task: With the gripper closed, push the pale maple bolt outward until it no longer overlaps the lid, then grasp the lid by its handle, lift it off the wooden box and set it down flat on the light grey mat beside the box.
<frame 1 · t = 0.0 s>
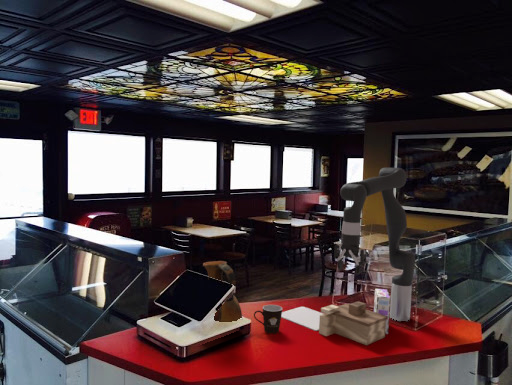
hand: (348, 271, 178), 29 cm above the counter, tool pointing down, fingers open, 8 cm apart
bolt: (330, 309, 188), point 10 cm above the counter, slide at 0.0 cm
wooden box: (355, 333, 189), on the counter
ceramic pitcher: (218, 331, 185), on the counter
lid: (356, 315, 188), point 8 cm above the counter, touching wooden box
mat: (308, 318, 206), on the counter
coffee mug: (268, 330, 189), on the counter
candy box: (380, 328, 197), on the counter
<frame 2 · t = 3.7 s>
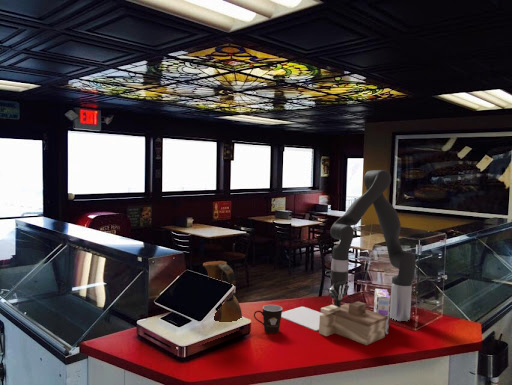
hand: (337, 307, 192), 10 cm above the counter, tool pointing down, fingers closed
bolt: (330, 309, 188), point 10 cm above the counter, slide at 0.1 cm, touching gripper
everything else where it was.
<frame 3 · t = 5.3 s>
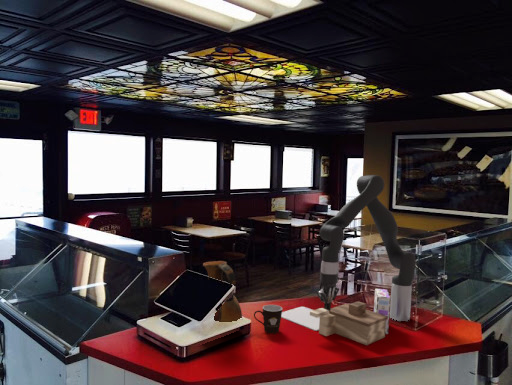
hand: (327, 310, 187), 10 cm above the counter, tool pointing down, fingers closed
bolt: (319, 312, 183), point 10 cm above the counter, slide at 7.4 cm, touching gripper
everything else where it was.
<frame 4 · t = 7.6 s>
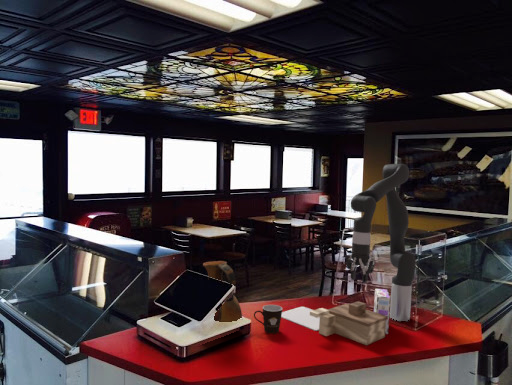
hand: (358, 280, 187), 23 cm above the counter, tool pointing down, fingers open, 5 cm apart
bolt: (319, 312, 183), point 10 cm above the counter, slide at 7.4 cm
everything else where it was.
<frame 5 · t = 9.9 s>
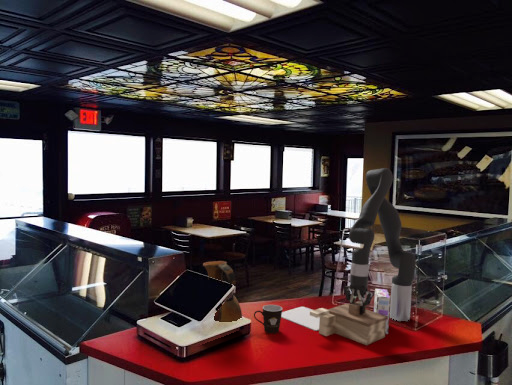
hand: (357, 312, 188), 10 cm above the counter, tool pointing down, fingers closed on lid, 4 cm apart
lid: (356, 315, 188), point 8 cm above the counter, touching gripper, wooden box
everything else where it was.
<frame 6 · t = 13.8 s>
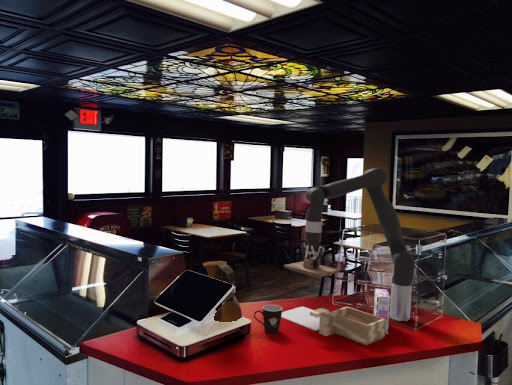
hand: (311, 266, 204), 25 cm above the counter, tool pointing down, fingers closed on lid, 4 cm apart
lid: (311, 269, 204), point 23 cm above the counter, touching gripper
everything else where it was.
when the fingers open (4 cm above the counter, at t = 17.9 s): lid drops 1 cm, resting on mat.
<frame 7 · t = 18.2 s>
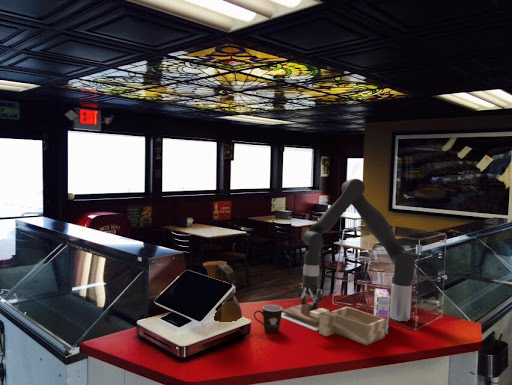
hand: (309, 308, 205), 5 cm above the counter, tool pointing down, fingers open, 6 cm apart
lid: (308, 315, 205), point 1 cm above the counter, touching mat
everything else where it was.
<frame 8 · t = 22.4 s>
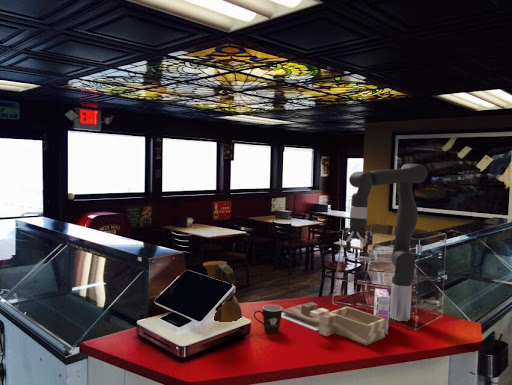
hand: (356, 252, 195), 34 cm above the counter, tool pointing down, fingers open, 8 cm apart
nothing on the counter moved.
at the end: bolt slide at 7.4 cm; lid inside the target area on the mat (0.0 cm from its centre), point 1.4 cm above the mat's base; lid tilted 0° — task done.
